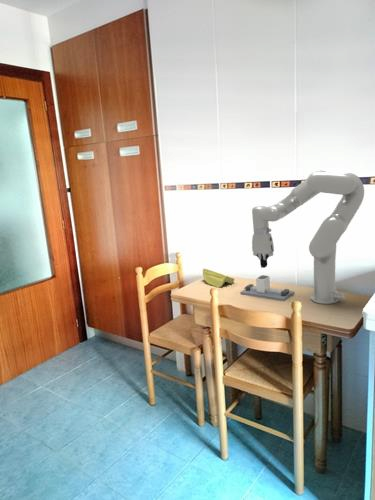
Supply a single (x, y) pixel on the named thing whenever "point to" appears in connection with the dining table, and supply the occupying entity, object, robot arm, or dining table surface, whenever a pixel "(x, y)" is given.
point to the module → (262, 283)
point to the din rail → (268, 290)
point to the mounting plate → (267, 295)
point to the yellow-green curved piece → (216, 278)
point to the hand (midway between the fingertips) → (264, 267)
